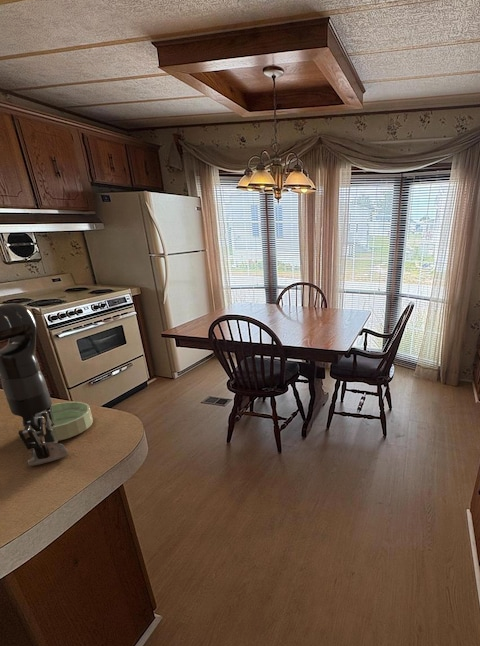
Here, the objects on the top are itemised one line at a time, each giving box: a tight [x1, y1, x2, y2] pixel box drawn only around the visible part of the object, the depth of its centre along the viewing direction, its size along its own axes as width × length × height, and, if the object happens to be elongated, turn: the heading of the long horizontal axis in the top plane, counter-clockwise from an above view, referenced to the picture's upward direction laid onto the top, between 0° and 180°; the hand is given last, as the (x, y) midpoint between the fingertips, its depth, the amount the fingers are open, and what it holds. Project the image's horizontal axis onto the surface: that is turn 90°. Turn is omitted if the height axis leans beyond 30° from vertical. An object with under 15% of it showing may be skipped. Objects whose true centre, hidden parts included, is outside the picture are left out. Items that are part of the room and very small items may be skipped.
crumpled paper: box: [27, 441, 69, 467], centre depth 86 cm, size 4×8×7 cm, turn 127°
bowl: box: [36, 401, 94, 442], centre depth 98 cm, size 15×15×5 cm
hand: (47, 451), depth 86 cm, fingers closed on crumpled paper, 4 cm apart
